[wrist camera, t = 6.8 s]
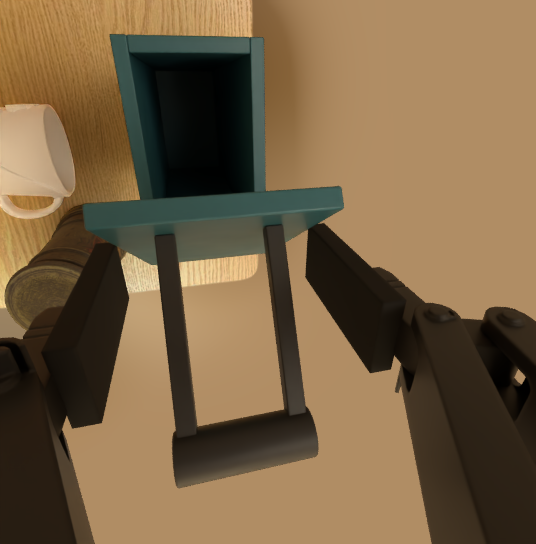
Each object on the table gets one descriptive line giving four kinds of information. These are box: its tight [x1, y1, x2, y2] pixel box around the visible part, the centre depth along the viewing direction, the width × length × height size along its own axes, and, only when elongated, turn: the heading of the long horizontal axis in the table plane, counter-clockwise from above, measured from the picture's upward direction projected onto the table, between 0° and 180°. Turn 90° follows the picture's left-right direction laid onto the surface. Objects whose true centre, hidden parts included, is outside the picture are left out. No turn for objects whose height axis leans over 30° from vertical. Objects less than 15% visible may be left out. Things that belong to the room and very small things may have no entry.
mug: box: [0, 104, 75, 219], centre depth 38 cm, size 12×9×8 cm
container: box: [5, 205, 126, 330], centre depth 40 cm, size 9×9×18 cm
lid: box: [82, 186, 344, 488], centre depth 17 cm, size 14×8×10 cm
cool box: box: [110, 34, 266, 200], centre depth 32 cm, size 13×8×26 cm, turn 0°
